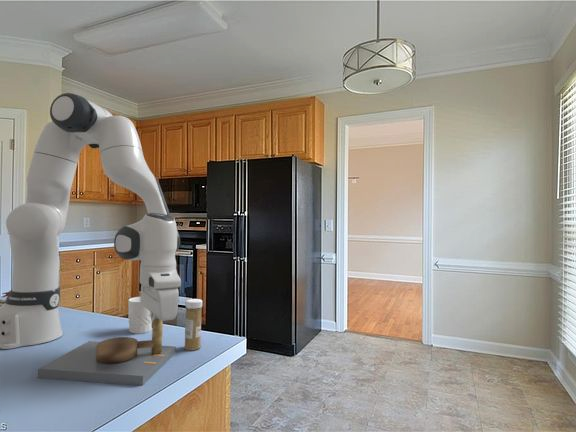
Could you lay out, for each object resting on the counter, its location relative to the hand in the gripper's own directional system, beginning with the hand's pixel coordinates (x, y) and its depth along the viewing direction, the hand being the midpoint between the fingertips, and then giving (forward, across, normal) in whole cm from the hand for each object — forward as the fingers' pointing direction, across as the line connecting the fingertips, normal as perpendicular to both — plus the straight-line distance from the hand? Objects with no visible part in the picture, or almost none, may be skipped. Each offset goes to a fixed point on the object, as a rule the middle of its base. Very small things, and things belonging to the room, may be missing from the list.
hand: (155, 329), depth 91 cm
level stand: (+7, 0, -10) cm, 12 cm away
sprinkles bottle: (+8, -1, +11) cm, 13 cm away
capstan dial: (+5, +1, -6) cm, 8 cm away
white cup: (+8, -24, +2) cm, 25 cm away
